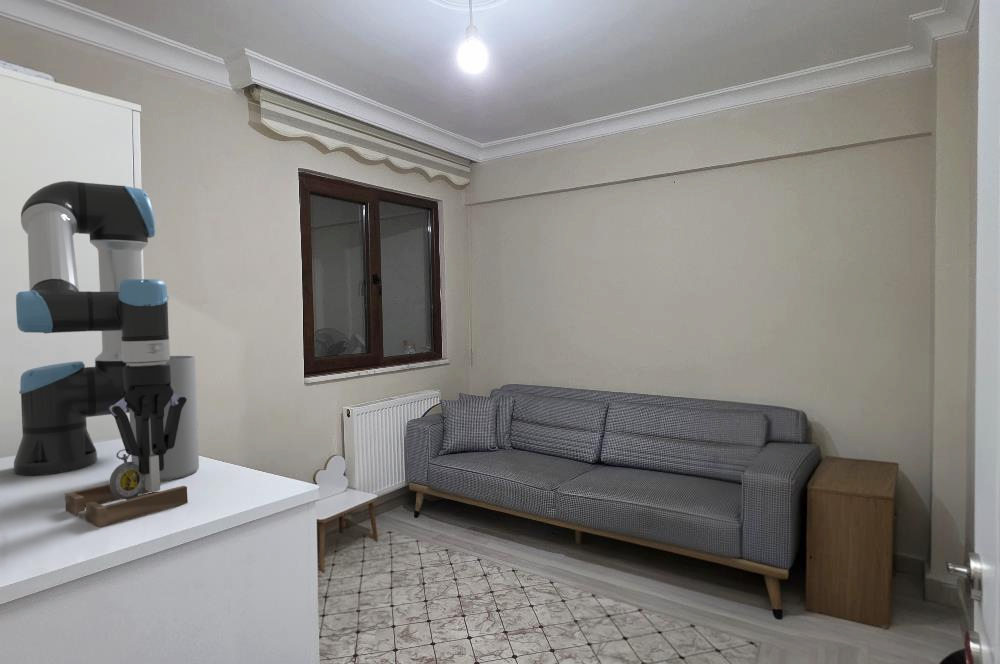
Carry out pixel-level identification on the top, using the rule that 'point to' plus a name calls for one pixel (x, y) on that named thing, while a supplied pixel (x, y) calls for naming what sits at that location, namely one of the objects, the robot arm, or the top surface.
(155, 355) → the robot arm
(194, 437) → the cylinder vase
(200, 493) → the top surface
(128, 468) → the pocket watch
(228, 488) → the top surface
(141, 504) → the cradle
